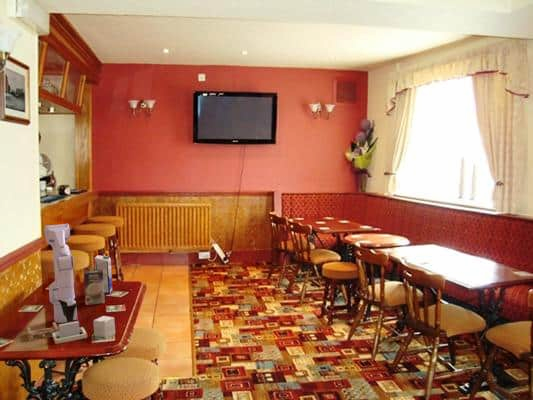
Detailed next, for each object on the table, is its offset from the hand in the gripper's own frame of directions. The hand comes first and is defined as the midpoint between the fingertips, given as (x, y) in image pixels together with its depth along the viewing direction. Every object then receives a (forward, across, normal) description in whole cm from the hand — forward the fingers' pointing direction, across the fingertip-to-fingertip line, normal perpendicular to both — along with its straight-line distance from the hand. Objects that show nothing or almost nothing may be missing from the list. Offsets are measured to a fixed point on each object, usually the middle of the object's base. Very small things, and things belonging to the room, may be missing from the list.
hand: (68, 318), depth 205 cm
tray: (+9, 0, 0) cm, 9 cm away
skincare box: (+9, +4, +13) cm, 16 cm away
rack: (+9, -10, -9) cm, 16 cm away
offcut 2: (+8, -6, -7) cm, 12 cm away
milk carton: (+9, -60, +27) cm, 66 cm away
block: (+8, 0, 0) cm, 8 cm away
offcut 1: (+8, -6, -11) cm, 15 cm away
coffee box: (+9, -45, +19) cm, 49 cm away
